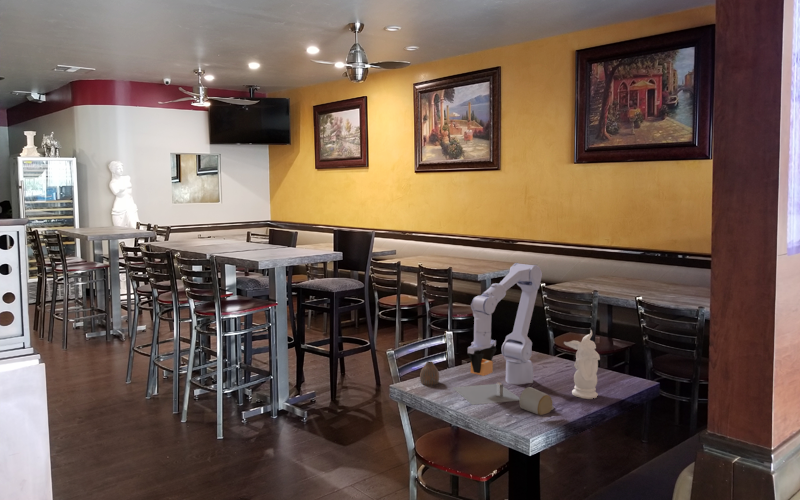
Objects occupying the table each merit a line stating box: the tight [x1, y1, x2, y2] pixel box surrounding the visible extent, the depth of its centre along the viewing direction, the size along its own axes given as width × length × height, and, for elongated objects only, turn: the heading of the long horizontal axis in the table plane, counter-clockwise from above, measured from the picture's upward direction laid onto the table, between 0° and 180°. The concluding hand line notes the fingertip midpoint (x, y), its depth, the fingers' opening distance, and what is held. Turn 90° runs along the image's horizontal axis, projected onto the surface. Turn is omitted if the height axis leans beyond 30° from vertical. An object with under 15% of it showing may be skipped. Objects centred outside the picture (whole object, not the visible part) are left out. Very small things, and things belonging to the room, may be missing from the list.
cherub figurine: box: [563, 329, 601, 400], centre depth 214 cm, size 12×12×22 cm
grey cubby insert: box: [496, 381, 504, 398], centre depth 207 cm, size 1×2×4 cm, turn 16°
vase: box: [419, 361, 440, 387], centre depth 221 cm, size 7×7×9 cm
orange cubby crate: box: [470, 359, 494, 377], centre depth 211 cm, size 5×5×4 cm
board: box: [452, 383, 520, 406], centre depth 211 cm, size 18×18×1 cm
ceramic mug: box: [519, 386, 555, 417], centre depth 196 cm, size 11×8×8 cm
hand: (481, 370), depth 211 cm, fingers closed on orange cubby crate, 5 cm apart
